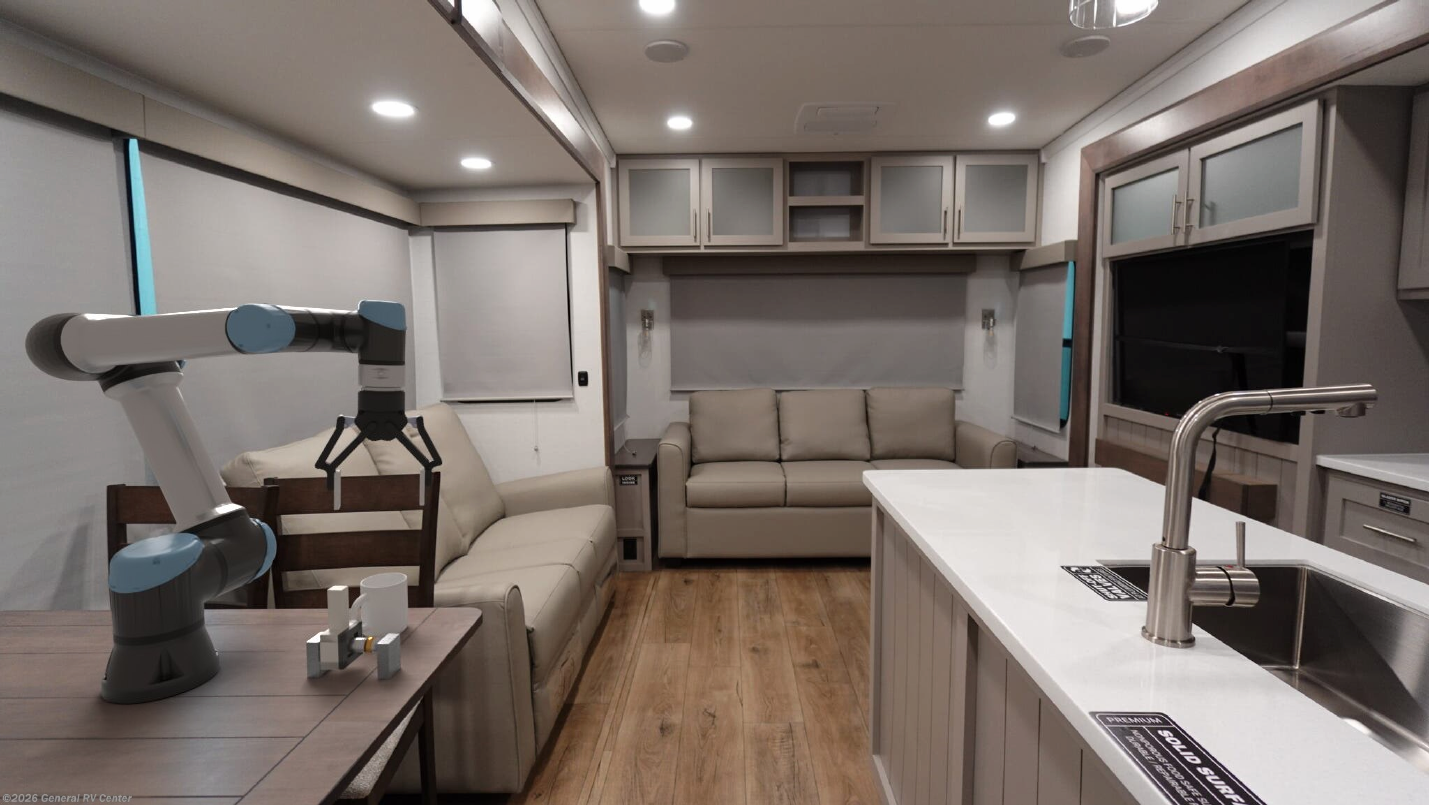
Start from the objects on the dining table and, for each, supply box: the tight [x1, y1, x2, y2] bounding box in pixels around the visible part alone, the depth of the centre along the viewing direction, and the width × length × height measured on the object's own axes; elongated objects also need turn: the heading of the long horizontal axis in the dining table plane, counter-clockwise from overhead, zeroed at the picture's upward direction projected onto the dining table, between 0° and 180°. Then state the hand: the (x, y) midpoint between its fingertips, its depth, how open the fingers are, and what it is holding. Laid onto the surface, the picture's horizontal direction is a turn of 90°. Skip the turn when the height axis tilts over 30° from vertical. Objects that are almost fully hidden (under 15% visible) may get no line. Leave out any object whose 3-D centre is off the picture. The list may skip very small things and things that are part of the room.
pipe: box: [305, 631, 402, 680], centre depth 113 cm, size 14×4×6 cm, turn 89°
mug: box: [349, 572, 409, 638], centre depth 128 cm, size 12×8×10 cm
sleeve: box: [320, 585, 364, 671], centre depth 113 cm, size 4×6×13 cm, turn 179°
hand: (380, 506), depth 118 cm, fingers open, 13 cm apart
